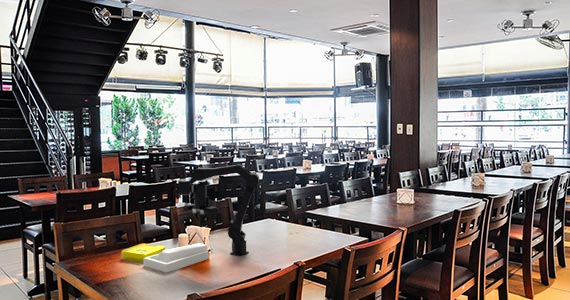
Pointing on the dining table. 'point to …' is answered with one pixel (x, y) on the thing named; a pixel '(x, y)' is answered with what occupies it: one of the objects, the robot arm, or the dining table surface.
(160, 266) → the u rest
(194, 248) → the milk
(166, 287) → the dining table surface
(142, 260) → the element tile
